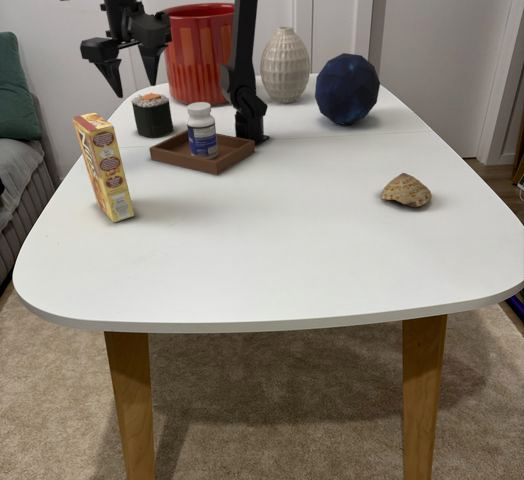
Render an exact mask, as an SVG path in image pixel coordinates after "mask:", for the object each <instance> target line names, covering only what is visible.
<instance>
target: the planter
mask: <svg viewBox="0 0 524 480" xmlns="http://www.w3.org/2000/svg"><path fill="white" fill-rule="evenodd" d="M161 11H165V12H167V13H168V14H169V18H170V23H171V33H172V42H168V43H165V44H169V46H168V47H167V48H166V49H165V50H164V51H163V55H164V64H165V70H166V71H165V72H166V77H167V83H168V89H169V95H170V97H171V98H172V99H173V100H175V101H177V102H178V103H180V104H184V105H187V106H188V105H190V104H192V103H197V102H206V103H209V104H210V105H211V107H212V106H213V107H215V106H216V107H217V106H223V105H228V104H231V103H230V102H229V101H228V100H227V99H226V98H225V97H224V95H223V93H222V88H221V87H220V86H219V82H220V78H221V71H220V65H221V64H223V65H226V66H227V64H228V61H229V59H230V56H231V45H232V31H233V16H234V2H200V3H190V4H182V5H176V6H171V7H168V8H164V9H161Z"/></svg>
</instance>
